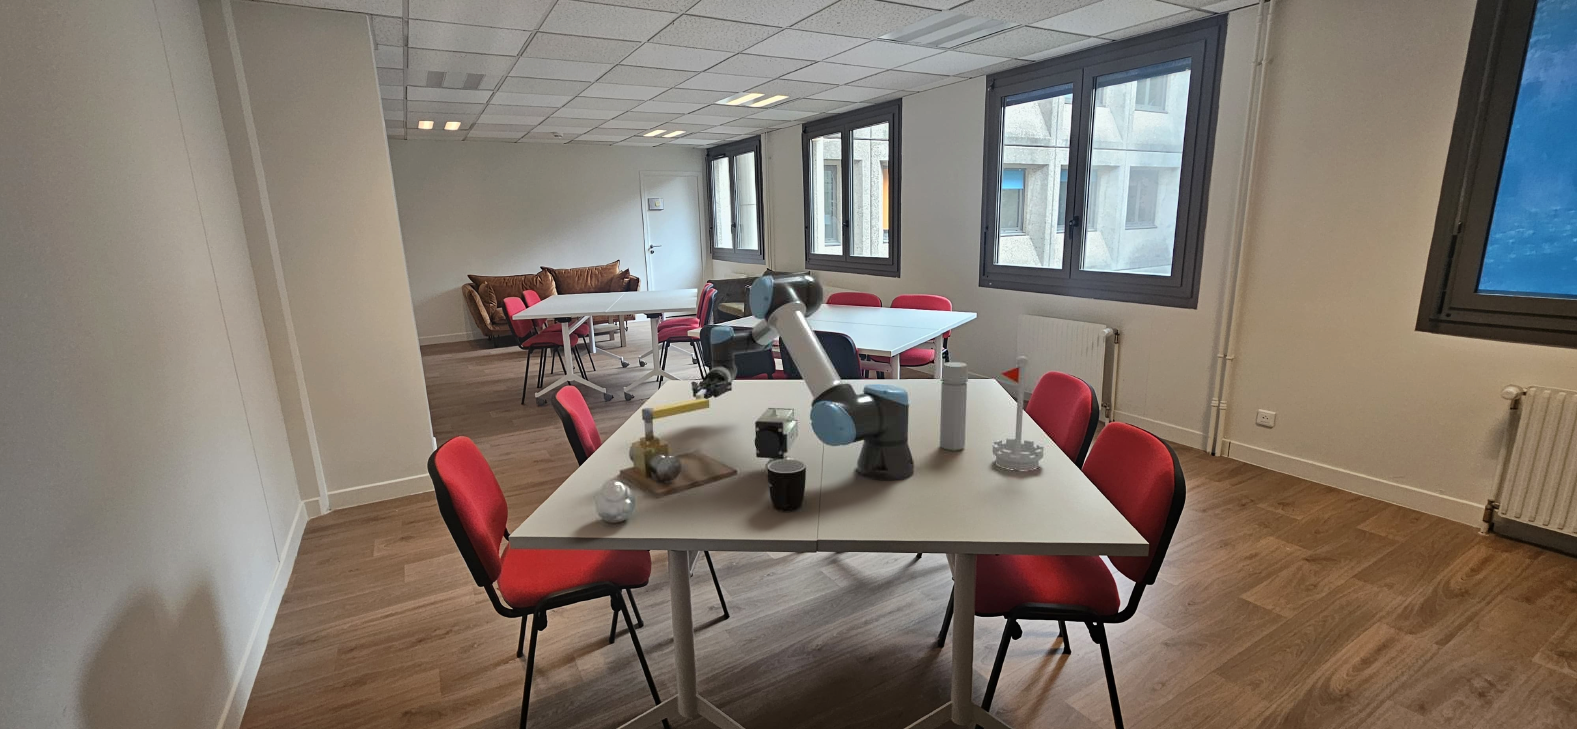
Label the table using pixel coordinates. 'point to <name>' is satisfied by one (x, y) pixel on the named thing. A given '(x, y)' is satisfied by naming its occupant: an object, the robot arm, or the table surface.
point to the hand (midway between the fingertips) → (698, 399)
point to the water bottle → (953, 406)
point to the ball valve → (775, 434)
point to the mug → (787, 484)
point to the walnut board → (683, 474)
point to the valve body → (653, 457)
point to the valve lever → (674, 409)
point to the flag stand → (1018, 432)
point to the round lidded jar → (615, 502)
